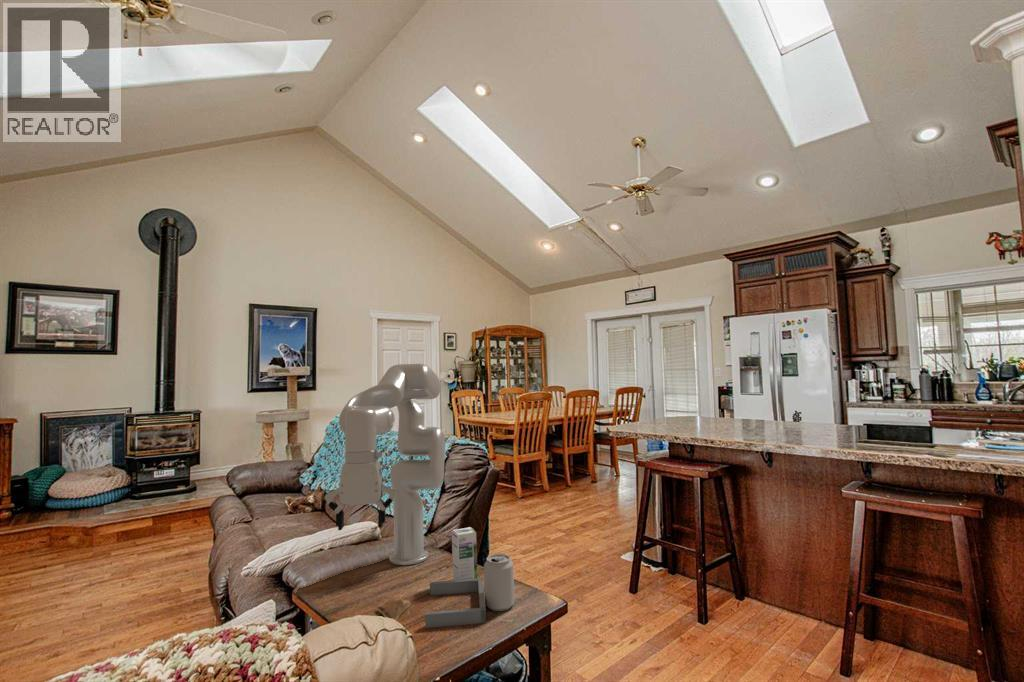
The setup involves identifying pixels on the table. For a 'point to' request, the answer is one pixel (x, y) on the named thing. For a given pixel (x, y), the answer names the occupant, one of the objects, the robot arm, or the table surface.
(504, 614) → the table surface
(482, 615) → the box
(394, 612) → the shard
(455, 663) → the table surface
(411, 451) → the robot arm
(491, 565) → the can
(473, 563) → the syrup box
